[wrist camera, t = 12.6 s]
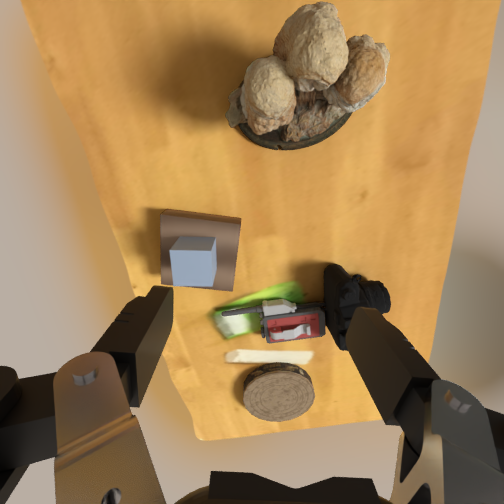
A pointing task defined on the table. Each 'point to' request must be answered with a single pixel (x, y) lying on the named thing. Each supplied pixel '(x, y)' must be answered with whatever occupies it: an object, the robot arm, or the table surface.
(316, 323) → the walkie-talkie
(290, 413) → the wood log slice
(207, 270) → the blue cube
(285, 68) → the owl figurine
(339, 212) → the table surface
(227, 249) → the brown block
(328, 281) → the film camera
